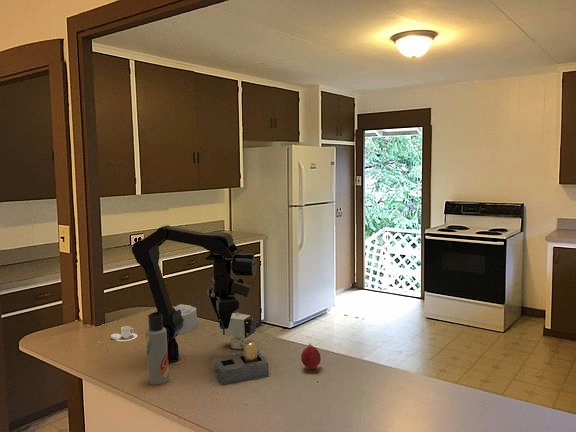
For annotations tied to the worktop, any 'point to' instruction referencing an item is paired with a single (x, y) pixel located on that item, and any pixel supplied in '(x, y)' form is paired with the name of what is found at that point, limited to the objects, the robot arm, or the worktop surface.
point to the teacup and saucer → (124, 334)
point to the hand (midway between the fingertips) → (222, 323)
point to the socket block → (239, 368)
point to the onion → (310, 357)
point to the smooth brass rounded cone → (250, 351)
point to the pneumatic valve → (239, 329)
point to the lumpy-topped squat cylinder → (187, 318)
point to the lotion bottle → (157, 350)
